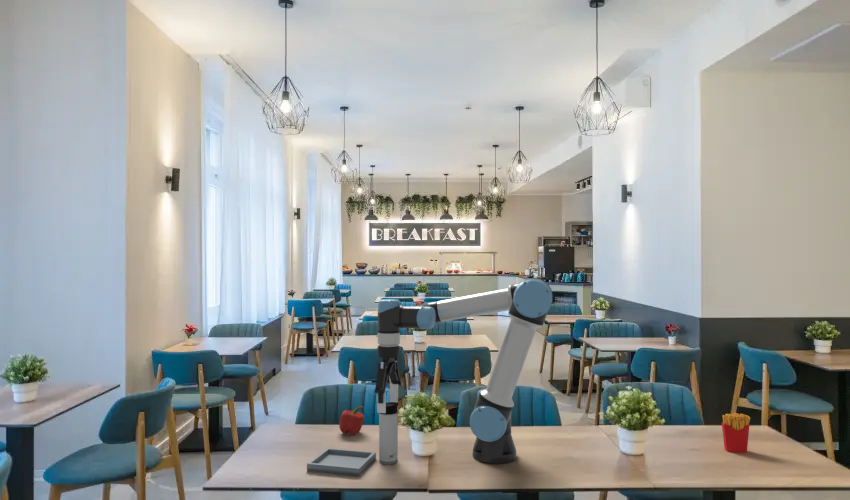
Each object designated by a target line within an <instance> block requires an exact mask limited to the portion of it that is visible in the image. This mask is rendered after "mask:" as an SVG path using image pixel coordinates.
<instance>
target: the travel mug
mask: <svg viewBox="0 0 850 500" xmlns="http://www.w3.org/2000/svg"><path fill="white" fill-rule="evenodd" d="M398 406H399V401H398V402H390V401H389V402H386V413H378V417H379V418H378V427H379V428H378V431H379V432H378V434H379V435H378V436H379V437H378V441H379V442H378V444H379V445H378V455H379V457H378V458H379V459H378V460H379V463H380V464H382V465H385V466H386V465H387V466H388V465H389V466H390V465H394V464H397V463H398V461H399V459H398V458H399V457H398V456H399V455H398V453H399V451H398V450H399V449H398V447H399V446H398V443H399V441H398V437H399V436H398V434H399V431H398V430H399V428H398V424H399V423H398V418H399V417H398V414H399V412H398Z"/></svg>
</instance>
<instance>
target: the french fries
mask: <svg viewBox="0 0 850 500" xmlns="http://www.w3.org/2000/svg"><path fill="white" fill-rule="evenodd" d="M750 422H751V417H750V416H749V415H747V414H744V413H738V412H737V413H736V412H733V413H725V415H724V414H722V422H721V428H722V429H721V430H722V436H723V437H722V438H723V447H724V450H725V451H726V452H729V453H740V454H741V453H742V454H744V453H747V452H748V445H749V444H748V443H749V436H750V435H749V433H750Z"/></svg>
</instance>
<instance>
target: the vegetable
mask: <svg viewBox="0 0 850 500" xmlns="http://www.w3.org/2000/svg"><path fill="white" fill-rule="evenodd" d="M364 408H365V407H364V406H362V405H361V406H357V407H356V408H355V409H354V410H348V409H345V410H343V411H342V413H341V414H340V418H339V423H338V424H339V425H338V427H339V430H340V432H341V433H342V434H348V435H350V436H356V435H357V434H359V433H360V431H361V429H362V427H363V424H364V423H365V422H364V421H365V415H364V413H363V412H358V411H359V410H360V409H361V410H364Z"/></svg>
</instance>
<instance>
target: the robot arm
mask: <svg viewBox="0 0 850 500" xmlns="http://www.w3.org/2000/svg"><path fill="white" fill-rule="evenodd" d="M552 303H553V291H552V288H551V286H550V284H549V283H547V282H546V281H545V280H543V279H541V278H538V277H532V278H528V279H525V280H523V281H520V282H518V283H513V284H509V285H508V287H507V288H503V289H496V290H491V291H486V292H481V293H474V294H469V295H465V296H463V295H462V296H458V297H453V298H447V299H441V300H438V301H431V302H423V303H421V304H418V305H402V303H401V301H400V299H394V298H391V299H390V298H387V299H380V300H379V301H378V305H377V308H378V309H377V334H376V338H377V352H376V353H377V356H378V357H379V358H382V360H381V361H379V362H378V367H377V377H376V382H375V386H374V387H375V389H374V393H375V394H377V399H376V400H377V401H376V403H377V404H376V407H377V408H376V411H377V412H376V413H377V414H379V413H386V403H387V393H386V389H387V384H388V379H390V382H391V383H390V384H389V402H398V403H399V385H400V384H401V383H402V382H401V376H400V375H401V374H400V368H399V356H400V352H401V351H400V350H401V348H400V343H401V330H400V329H417V330H418V329H419V330H430V329H431V330H432V329H433V328H434V327H435V324H437V323H442V322H449V321H454V320H460V319H466V318H471V317H477V316H484V315H490V314H495V313H502V312H507V311H508V313H507V314H508V316H509V319H510V321H509V324H508V327H507V330H506V333H505V336H504V338H503V341H502V344H501V346H500V350H499V352H498V354H497V355H498V356H497V358H496V361H495V363H494V366H493V368H492V372H491V375H490V378H489V380H488V383H487V386H486V388H483V389H479V390H478V391H477V396H476V399H477V400H476V402H475V405H474V407H473V410H472V412H471V413H470V417H469V426H470V430H471V432H472V434H474V436H475V441H474V443H473V447H472V457H473V459H474V460H476V461H479V462H483V463H486V464H507V463H511V462H514V461H516V459H517V449H516V445H515V442H514V438H513V436H512V413H513V409H514V406H515V403H514V401H513V395H514V392H515V390H516V387H517V384H518V381H519V378H520V376H521V373H522V370H523V367H524V364H525V363H526V359H527V356H528V353H529V351H530V348H531V345H532V342H533V340H534V337H535V334H536V332H537V329H539V328H542V327H543V326H544V323H545V321H546V318H547V316H548V312H549V310H550V308H551V306H552Z"/></svg>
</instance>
